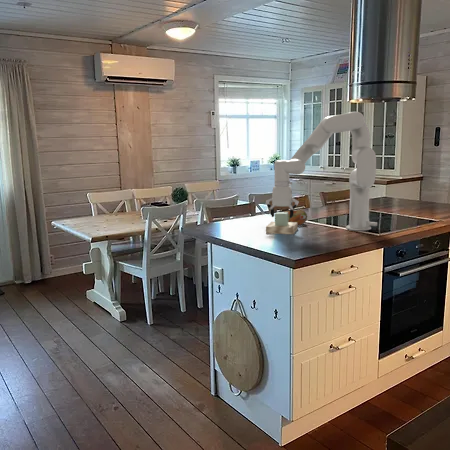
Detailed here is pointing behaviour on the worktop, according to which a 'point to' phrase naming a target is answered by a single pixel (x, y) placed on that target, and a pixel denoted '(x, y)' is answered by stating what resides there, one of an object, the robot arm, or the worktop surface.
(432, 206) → the worktop surface
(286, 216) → the sage cube
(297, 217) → the tin
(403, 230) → the worktop surface
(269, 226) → the birch block
